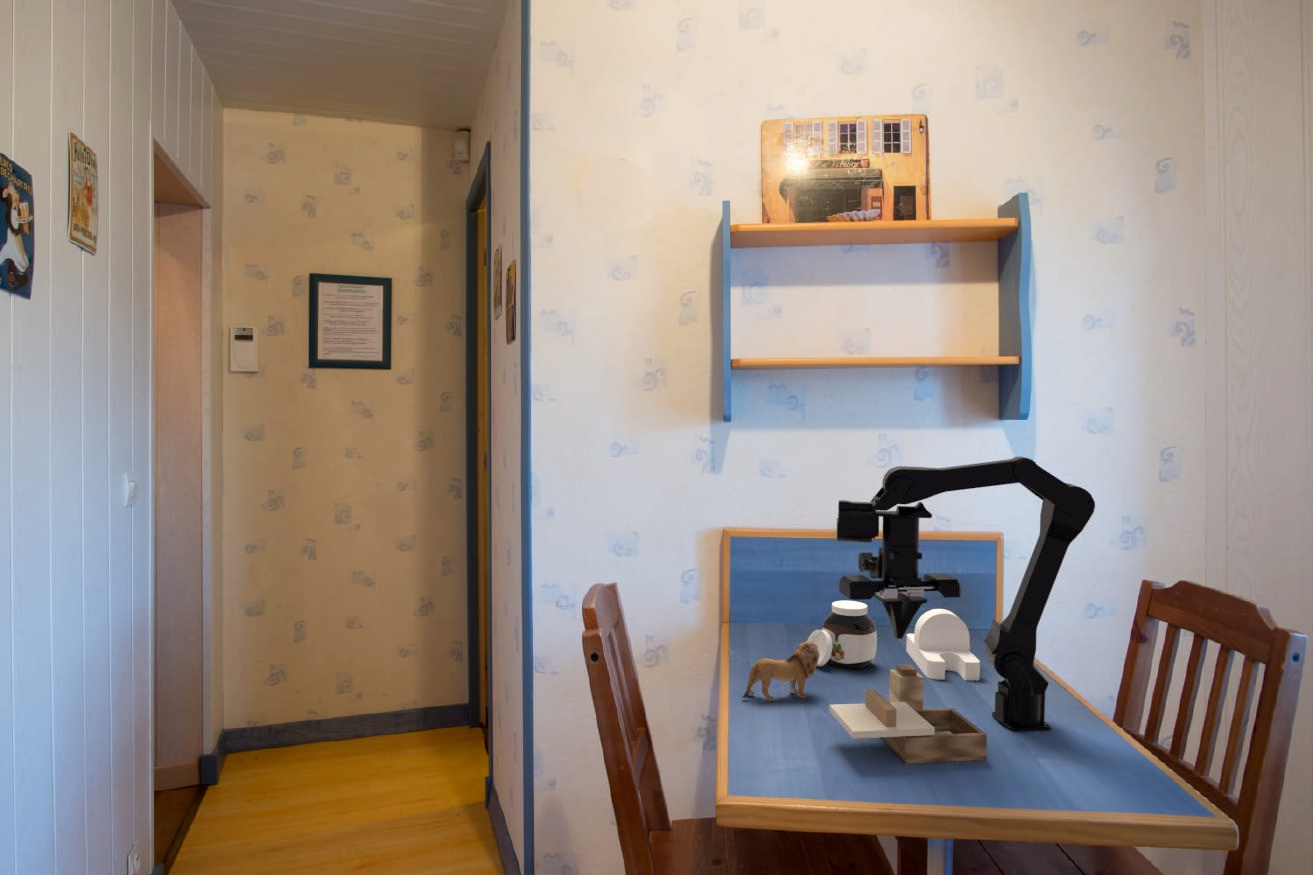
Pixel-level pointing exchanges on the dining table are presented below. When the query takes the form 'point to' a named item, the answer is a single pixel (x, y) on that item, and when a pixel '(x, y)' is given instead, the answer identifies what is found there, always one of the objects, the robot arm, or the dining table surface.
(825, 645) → the spread jar
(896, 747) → the wooden box
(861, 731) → the lid
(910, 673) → the wooden block
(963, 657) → the u-slot stand
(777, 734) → the dining table surface
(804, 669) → the lion figurine
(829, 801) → the dining table surface
